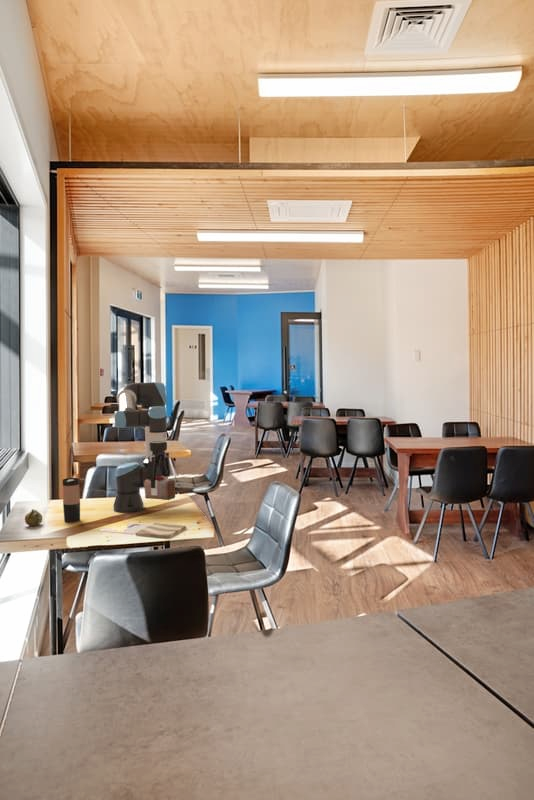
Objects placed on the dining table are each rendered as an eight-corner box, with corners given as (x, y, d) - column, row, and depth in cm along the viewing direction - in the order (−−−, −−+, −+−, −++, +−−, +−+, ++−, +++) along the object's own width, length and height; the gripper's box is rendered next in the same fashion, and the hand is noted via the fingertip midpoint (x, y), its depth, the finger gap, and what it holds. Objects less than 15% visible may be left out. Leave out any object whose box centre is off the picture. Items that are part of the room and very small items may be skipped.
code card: (119, 521, 280) (119, 521, 280) (152, 524, 274) (152, 524, 274) (98, 530, 265) (98, 530, 265) (133, 534, 259) (133, 533, 259)
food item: (141, 498, 260) (140, 476, 260) (152, 495, 268) (151, 473, 267) (167, 501, 255) (167, 478, 254) (177, 497, 262) (177, 475, 262)
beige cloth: (155, 525, 272) (154, 523, 272) (186, 528, 267) (185, 525, 267) (135, 535, 258) (135, 532, 257) (168, 538, 252) (168, 535, 252)
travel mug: (76, 517, 289) (74, 477, 288) (83, 520, 284) (82, 479, 282) (61, 520, 284) (59, 479, 283) (68, 523, 278) (66, 481, 277)
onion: (46, 523, 279) (46, 507, 278) (33, 528, 272) (33, 511, 271) (34, 522, 282) (34, 505, 281) (21, 526, 275) (20, 509, 274)
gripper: (153, 445, 249) (154, 498, 250) (177, 439, 268) (178, 488, 270) (137, 444, 251) (139, 497, 253) (163, 438, 271) (164, 487, 272)
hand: (159, 493), depth 261 cm, fingers closed on food item, 8 cm apart
